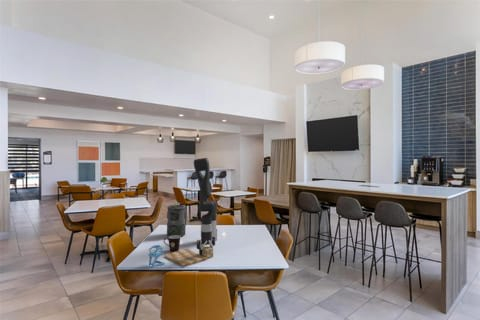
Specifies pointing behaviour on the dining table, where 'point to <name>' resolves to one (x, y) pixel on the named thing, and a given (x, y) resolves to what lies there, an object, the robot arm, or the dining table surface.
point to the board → (185, 257)
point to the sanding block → (207, 252)
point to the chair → (155, 255)
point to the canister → (176, 220)
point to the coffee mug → (173, 243)
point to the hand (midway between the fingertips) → (205, 253)
